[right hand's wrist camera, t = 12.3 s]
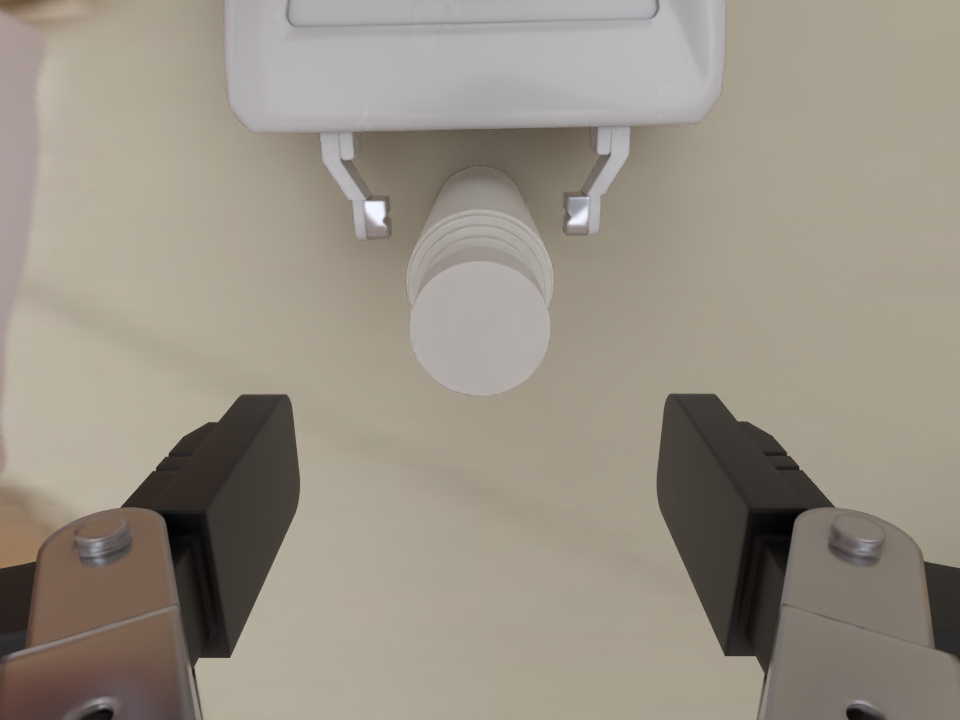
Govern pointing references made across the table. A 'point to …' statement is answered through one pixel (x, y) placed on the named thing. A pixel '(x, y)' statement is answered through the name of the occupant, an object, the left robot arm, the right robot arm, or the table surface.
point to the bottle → (479, 227)
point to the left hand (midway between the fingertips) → (477, 235)
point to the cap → (479, 322)
